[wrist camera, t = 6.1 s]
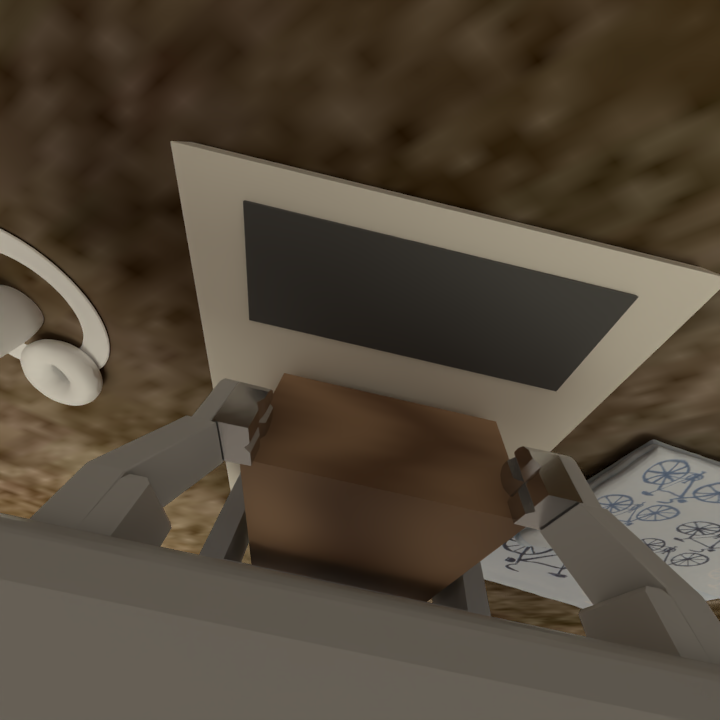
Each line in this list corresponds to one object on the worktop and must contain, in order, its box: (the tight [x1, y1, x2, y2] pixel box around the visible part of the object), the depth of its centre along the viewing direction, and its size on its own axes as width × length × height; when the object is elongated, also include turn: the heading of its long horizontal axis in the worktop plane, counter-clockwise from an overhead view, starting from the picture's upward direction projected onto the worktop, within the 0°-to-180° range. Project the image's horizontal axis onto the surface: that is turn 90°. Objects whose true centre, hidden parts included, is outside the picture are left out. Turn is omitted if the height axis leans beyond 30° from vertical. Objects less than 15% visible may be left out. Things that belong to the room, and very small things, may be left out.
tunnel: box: [199, 472, 491, 617], centre depth 15 cm, size 12×4×6 cm, turn 79°
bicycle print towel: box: [480, 439, 720, 609], centre depth 20 cm, size 19×20×2 cm
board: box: [170, 141, 720, 490], centre depth 17 cm, size 16×28×1 cm, turn 169°
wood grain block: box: [240, 373, 525, 602], centre depth 14 cm, size 9×12×4 cm
